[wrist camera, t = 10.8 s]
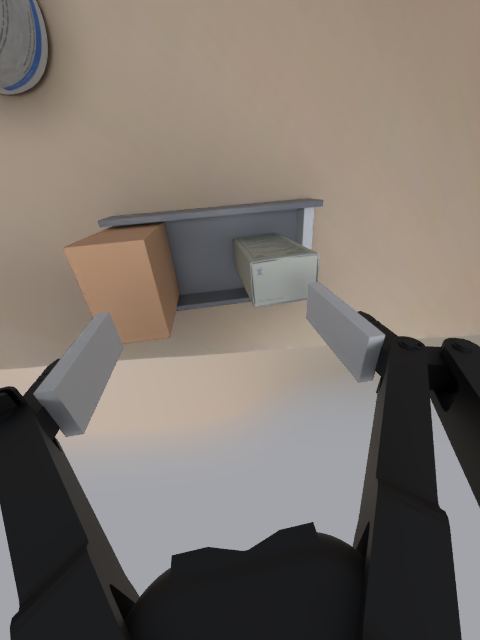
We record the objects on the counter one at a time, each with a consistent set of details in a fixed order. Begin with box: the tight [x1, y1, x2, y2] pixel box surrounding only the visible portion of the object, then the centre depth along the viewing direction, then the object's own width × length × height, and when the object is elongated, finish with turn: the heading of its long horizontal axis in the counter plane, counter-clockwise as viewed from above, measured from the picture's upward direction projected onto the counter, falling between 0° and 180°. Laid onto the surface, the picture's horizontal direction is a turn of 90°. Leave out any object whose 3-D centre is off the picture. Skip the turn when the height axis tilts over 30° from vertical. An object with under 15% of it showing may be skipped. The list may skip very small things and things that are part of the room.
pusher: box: [63, 222, 180, 344], centre depth 25 cm, size 6×9×11 cm, turn 4°
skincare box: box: [233, 233, 320, 307], centre depth 26 cm, size 6×4×12 cm
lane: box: [98, 198, 323, 311], centre depth 30 cm, size 24×11×4 cm, turn 94°
